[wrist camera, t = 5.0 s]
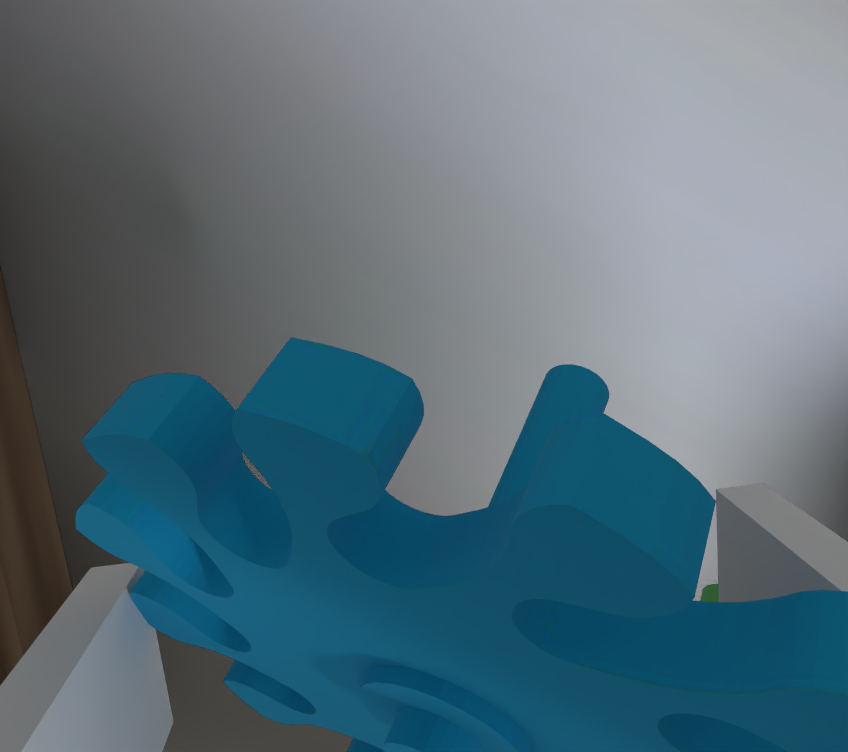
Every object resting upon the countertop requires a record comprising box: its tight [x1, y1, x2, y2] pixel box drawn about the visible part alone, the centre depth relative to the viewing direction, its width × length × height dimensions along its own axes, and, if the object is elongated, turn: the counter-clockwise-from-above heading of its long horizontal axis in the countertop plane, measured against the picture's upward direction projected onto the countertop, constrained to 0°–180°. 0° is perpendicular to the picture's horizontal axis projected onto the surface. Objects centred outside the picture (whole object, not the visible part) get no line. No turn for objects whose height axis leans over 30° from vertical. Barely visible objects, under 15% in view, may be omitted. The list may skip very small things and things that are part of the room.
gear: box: [75, 337, 848, 752], centre depth 11 cm, size 11×6×10 cm
